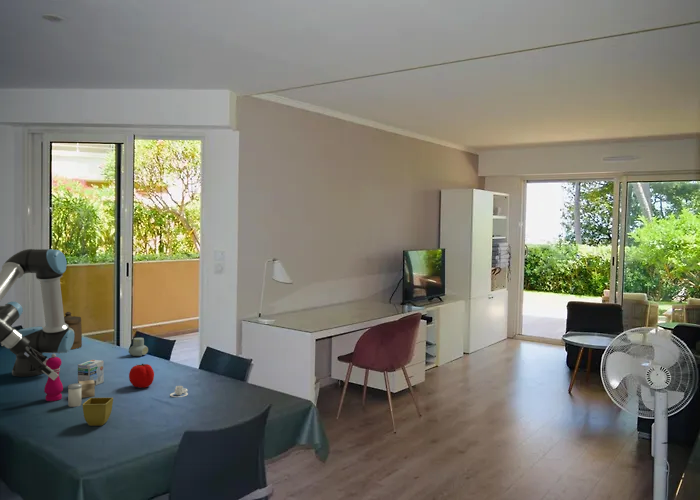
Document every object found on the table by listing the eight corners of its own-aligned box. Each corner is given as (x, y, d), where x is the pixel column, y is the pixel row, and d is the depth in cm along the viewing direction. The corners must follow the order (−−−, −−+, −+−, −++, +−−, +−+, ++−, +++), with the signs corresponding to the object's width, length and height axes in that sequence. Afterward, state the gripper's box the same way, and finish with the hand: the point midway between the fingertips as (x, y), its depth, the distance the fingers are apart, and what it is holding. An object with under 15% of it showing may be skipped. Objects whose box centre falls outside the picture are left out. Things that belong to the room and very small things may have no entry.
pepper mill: (66, 397, 246) (66, 352, 245) (53, 402, 239) (53, 356, 238) (54, 395, 248) (54, 351, 247) (40, 400, 241) (40, 354, 241)
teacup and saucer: (184, 391, 260) (184, 382, 260) (193, 395, 254) (193, 386, 254) (166, 395, 254) (166, 386, 254) (175, 399, 248) (175, 390, 248)
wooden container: (49, 349, 339) (49, 313, 338) (65, 344, 353) (65, 309, 352) (71, 350, 336) (71, 314, 335) (86, 345, 351) (86, 310, 350)
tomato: (145, 391, 258) (146, 367, 257) (123, 389, 260) (123, 365, 260) (159, 384, 270) (159, 361, 269) (138, 382, 272) (138, 359, 271)
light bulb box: (89, 388, 261) (89, 365, 260) (77, 387, 262) (77, 364, 261) (104, 382, 271) (104, 360, 271) (91, 381, 272) (91, 359, 272)
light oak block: (79, 398, 246) (79, 384, 246) (78, 394, 251) (78, 381, 251) (94, 396, 249) (94, 383, 248) (93, 392, 254) (93, 379, 254)
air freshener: (136, 353, 333) (136, 336, 333) (149, 353, 332) (149, 337, 332) (126, 357, 323) (126, 340, 322) (140, 357, 321) (140, 340, 321)
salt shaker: (72, 402, 239) (72, 383, 239) (84, 403, 239) (84, 383, 239) (65, 406, 234) (65, 386, 233) (77, 407, 234) (77, 387, 233)
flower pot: (90, 419, 219) (90, 397, 219) (113, 419, 220) (113, 397, 219) (81, 428, 210) (81, 404, 210) (105, 427, 211) (105, 404, 210)
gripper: (10, 343, 245) (49, 373, 253) (6, 355, 223) (49, 388, 231) (24, 330, 248) (62, 361, 255) (22, 341, 226) (63, 374, 233)
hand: (56, 374), depth 243 cm, fingers open, 13 cm apart
